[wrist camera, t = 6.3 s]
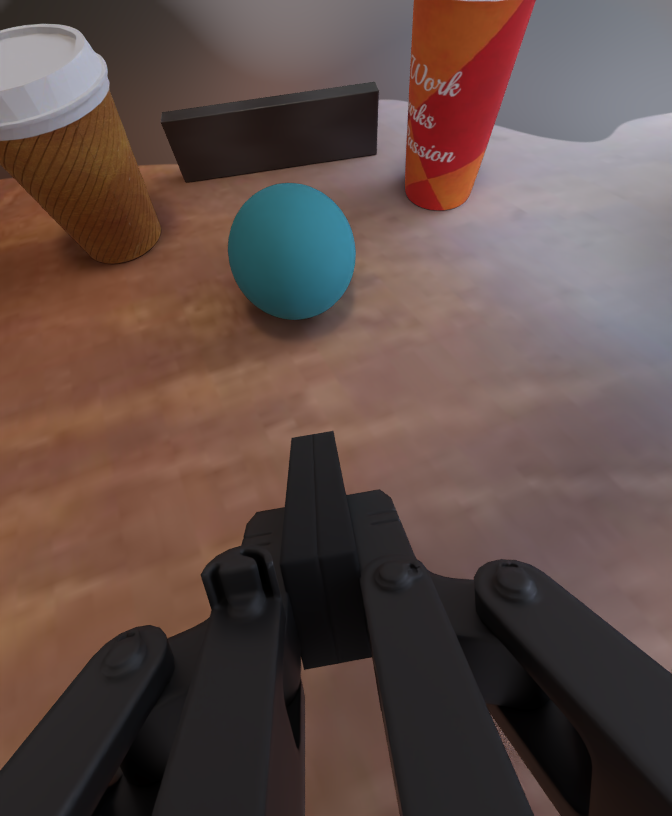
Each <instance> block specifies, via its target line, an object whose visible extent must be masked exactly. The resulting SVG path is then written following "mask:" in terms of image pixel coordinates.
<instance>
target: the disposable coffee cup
mask: <svg viewBox="0 0 672 816" xmlns="http://www.w3.org/2000/svg"><path fill="white" fill-rule="evenodd" d="M107 73H108V70H107V66H106V63H105V61H104V59H103V58H102V57H101V56H100V55H99V54H97V53H95V52H94V51H93V50H92V48H91V46H90V45H89V43H88V42H87V40H86V39H85V38H84V36H83V35H82V33H81V32H79V31H78V30H76V29H74V28H71V27H69V26H63V25H57V24H38V25H26V26H19V27H14V28H9V29H5V30H1V31H0V165H1V166H2V167H3V168H4V169H5V170H7V171H8V172H9V174H10V175H11V176H12V177H13V178H14V179H15V180H16V181H17V182H18V183H19V184H20V185H21V186H22V187H23V188H24V189H25V190H26V191H27V192H28V193H29V194H30V195H31V196H32V197H33V198H34V199H35V200H36V201H37V202H38V203H39V204H40V205H41V206H42V208H43V209H44V210H46V211H47V212H48V214H49V215H50V216H51V217H52V218H53V219H54V220H55V221H56V222H57V223H58V224H59V225H60V226H61V227H62V228H63V229H64V230H65V231H66V232H67V233H68V234H69V235H70V236H71V237H72V238H73V239H74V240H75V241H76V242H77V243H78V244H79V245H80V246H81V247H82V248H83V249H84V250H85V251H86V252H87V253H88V255H89V256H90V257H91V258H93V259H94V260H96V261H98V262H102V263H110V264H112V263H121V262H126V261H129V260H132V259H135V258H137V257H139V256H141V255H143V254H144V253H146V252H147V251H148V250H149V249H151V248H152V247H153V246H154V245H155V243H156V242H157V240H158V239H159V237H160V233H161V226H160V224H159V221H158V219H157V216H156V213H155V211H154V208H153V206H152V203H151V200H150V198H149V195H148V192H147V190H146V187H145V184H144V181H143V178H142V176H141V173H140V171H139V168H138V165H137V163H136V160H135V157H134V155H133V152H132V149H131V147H130V144H129V141H128V139H127V136H126V133H125V130H124V128H123V125H122V123H121V120H120V117H119V115H118V112H117V109H116V107H115V104H114V101H113V99H112V96H111V93H110V90H109V80H108V78H107Z"/></svg>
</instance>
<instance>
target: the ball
mask: <svg viewBox="0 0 672 816" xmlns="http://www.w3.org/2000/svg"><path fill="white" fill-rule="evenodd" d="M228 255H229V263H230V267H231V270H232V273H233V276H234V279H235V281H236V283H237V284H238V286H239V288H240V289H241V291H242V292H243V294H244V295H245V296H246V297H247V298H248V299H249V300H250V301H251V302H252V303H253V304H254V305H255V306H256V307H258V308H259V309H261V310H262V311H264V312H266V313H268V314H270V315H273V316H275V317H278V318H283V319H290V320H298V319H306V318H310V317H313V316H316V315H319V314H321V313H323V312H324V311H326V310H328V309H329V308H330V307H332V306H333V305H334V304H335V303H336V302H337V301H338V300H339V299H340V298H341V296H342V295H343V294H344V292H345V291H346V289H347V287H348V285H349V283H350V281H351V278H352V275H353V271H354V266H355V255H356V251H355V242H354V237H353V233H352V230H351V227H350V225H349V223H348V221H347V219H346V217H345V215H344V214H343V212H342V211H341V209H340V208H339V207H338V206H337V205H336V204H335V203H334V202H333V201H332V200H331V199H330V198H329V197H328V196H326V195H325V194H323V193H322V192H320V191H318V190H316V189H314V188H312V187H309V186H306V185H302V184H296V183H281V184H276V185H272V186H269V187H267V188H265V189H262V190H260V191H259V192H257V193H256V194H254V195H253V196H252V197H251V198H249V199H248V200H247V201H246V202H245V203H244V205H243V206H242V207H241V209H240V210H239V212H238V213H237V215H236V217H235V219H234V221H233V224H232V226H231V230H230V235H229V241H228Z"/></svg>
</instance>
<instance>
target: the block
mask: <svg viewBox="0 0 672 816" xmlns="http://www.w3.org/2000/svg"><path fill="white" fill-rule="evenodd" d="M378 100H379V90H378V88H377V86H376V83H375V82H370V83H363V84H356V85H349V86H342V87H335V88H328V89H322V90H314V91H307V92H300V93H293V94H286V95H279V96H272V97H265V98H258V99H252V100H245V101H238V102H231V103H224V104H217V105H210V106H203V107H196V108H189V109H182V110H175V111H168V112H162V117H161V124H162V126H163V129H164V131H165V134H166V136H167V139H168V141H169V144H170V146H171V148H172V151H173V153H174V156H175V158H176V161H177V163H178V165H179V168H180V170H181V173H182V175H183V178H184V180H185V182H192V181H199V180H206V179H212V178H219V177H226V176H233V175H239V174H246V173H253V172H260V171H266V170H273V169H280V168H287V167H293V166H300V165H307V164H313V163H320V162H327V161H334V160H340V159H347V158H354V157H361V156H367V155H374V154H376V153H377V126H378Z"/></svg>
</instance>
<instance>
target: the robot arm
mask: <svg viewBox="0 0 672 816" xmlns="http://www.w3.org/2000/svg"><path fill="white" fill-rule="evenodd" d="M201 577H202V581H203V584H204V587H205V590H206V593H207V596H208V600H209V603H210V606H211V609H212V611H211V615H210V617H209V618H208V619H207V620H205V621H204V622H202V623H200V624H198V625H197V626H195V627H193V628H191V629H188V630H186V631H184V632H182V633H179V634H177V635H175V636H172V637H170V638H168V639H167V637H166V634H165V633H164V632H163V631H162V630H161V628H159V627H155V626H151V625H146V626H140V627H135V628H133V629H130V630H128V631H125V632H123V633H121V634H119V635H118V636H116V637H115V638H113V639H112V640H110V641H109V642H107V643H106V644H105V645H104V646H103V647H102V648H101V649H100V650H99V651H98V652H97V653H96V654H95V655H94V656H93V657H92V658H91V659H90V661H89V662H88V663H87V664H86V666H85V667H84V668H83V669H82V671H81V672H80V673H79V674H78V675H77V677H76V678H75V679H74V680H73V682H72V683H71V684H70V685H69V687H68V688H67V689H66V690H65V691H64V693H63V694H62V695H61V696H60V698H59V699H58V700H57V701H56V703H55V704H54V705H53V706H52V708H51V709H50V710H49V711H48V712H47V714H46V715H45V716H44V717H43V719H42V720H41V721H40V722H39V724H38V725H37V726H36V727H35V728H34V730H33V731H32V732H31V733H30V735H29V736H28V737H27V738H26V740H25V741H24V742H23V743H22V744H21V746H20V747H19V748H18V749H17V751H16V752H15V753H14V754H13V756H12V757H11V758H10V759H9V761H8V762H7V763H6V764H5V765H4V767H3V768H2V769H1V770H0V816H305V695H304V690H303V685H302V681H301V658H302V662H303V667H304V670H306V669H311V668H316V667H322V666H327V665H333V664H338V663H343V662H349V661H354V660H359V659H365V658H370V657H372V659H373V664H374V671H375V677H376V683H377V689H378V695H379V702H380V708H381V711H382V717H383V722H384V728H385V734H386V739H387V745H388V751H389V756H390V762H391V768H392V773H393V779H394V784H395V790H396V796H397V801H398V807H399V813H400V816H534V814H533V812H532V810H531V807H530V805H529V803H528V800H527V798H526V796H525V793H524V791H523V789H522V786H521V784H520V782H519V780H518V777H517V775H516V773H515V770H514V768H513V766H512V763H511V761H510V759H509V756H508V754H507V752H506V750H505V747H504V745H503V743H502V740H501V738H500V736H499V733H498V731H497V729H496V726H495V724H494V722H493V720H492V717H493V718H494V719H495V721H496V722H497V724H498V725H499V727H500V728H501V730H502V731H503V733H504V734H505V735H506V737H507V738H508V740H509V741H510V743H511V744H512V746H513V747H514V748H515V750H516V751H517V753H518V754H519V756H520V757H521V759H522V760H523V761H524V763H525V764H526V766H527V767H528V769H529V770H530V772H531V773H532V775H533V776H534V777H535V779H536V780H537V782H538V783H539V785H540V786H541V788H542V789H543V790H544V792H545V793H546V795H547V796H548V798H549V799H550V801H551V802H552V804H553V805H554V806H555V808H556V809H557V811H558V812H559V814H560V815H561V816H672V674H671V673H670V672H669V671H667V670H666V669H665V668H664V667H662V666H661V665H660V664H658V663H657V662H656V661H655V660H653V659H652V658H651V657H650V656H648V655H647V654H646V653H645V652H643V651H642V650H641V649H640V648H638V647H637V646H636V645H635V644H633V643H632V642H631V641H630V640H628V639H627V638H626V637H625V636H623V635H622V634H621V633H619V632H618V631H617V630H616V629H614V628H613V627H612V626H611V625H609V624H608V623H607V622H606V621H604V620H603V619H602V618H601V617H599V616H598V615H597V614H596V613H594V612H593V611H592V610H591V609H589V608H588V607H587V606H585V605H584V604H583V603H582V602H580V601H579V600H578V599H577V598H575V597H574V596H573V595H572V594H570V593H569V592H568V591H567V590H565V589H564V588H563V587H562V586H560V585H559V584H558V583H557V582H555V581H554V580H553V579H552V578H550V577H549V576H548V575H546V574H545V573H544V572H542V571H541V570H539V569H537V568H536V567H534V566H532V565H530V564H527V563H524V562H520V561H517V560H505V559H500V560H495V561H491V562H488V563H486V564H484V565H483V566H481V567H480V568H479V569H478V571H477V572H476V574H475V576H474V580H469V579H456V578H449V577H443V576H440V575H437V574H434V573H432V572H430V571H429V570H427V569H426V567H425V566H424V565H423V563H422V562H420V561H419V560H417V559H416V557H415V555H414V553H413V550H412V548H411V545H410V543H409V540H408V538H407V536H406V533H405V531H404V528H403V526H402V523H401V521H400V520H399V516H398V514H397V511H396V509H395V507H394V504H393V502H392V499H391V497H389V496H388V495H387V494H385V493H384V492H383V491H381V490H380V489H379V490H373V491H368V492H362V493H356V494H350V495H346V493H345V488H344V483H343V478H342V473H341V468H340V462H339V457H338V452H337V447H336V442H335V437H334V432H333V431H330V432H324V433H318V434H312V435H306V436H300V437H295V438H292V440H291V450H290V460H289V470H288V481H287V491H286V501H285V507H283V508H277V509H272V510H266V511H260V512H256V514H255V515H254V516H253V517H252V518H251V520H250V521H249V522H248V523H247V525H246V529H245V533H244V539H243V541H242V545H241V546H239V547H235V548H232V549H229V550H227V551H225V552H223V553H221V554H220V555H218V556H216V557H215V558H214V559H213V560H212V561H211V562H209V563H208V564H207V565H206V567H205V568H204V570H203V572H202V573H201ZM489 712H490V713H489ZM490 714H491V715H492V717H491V715H490Z"/></svg>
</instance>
